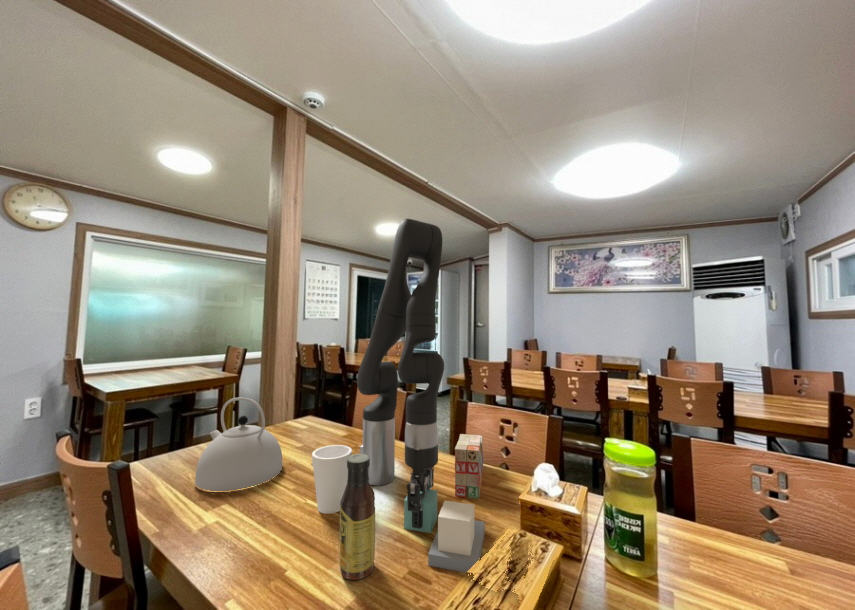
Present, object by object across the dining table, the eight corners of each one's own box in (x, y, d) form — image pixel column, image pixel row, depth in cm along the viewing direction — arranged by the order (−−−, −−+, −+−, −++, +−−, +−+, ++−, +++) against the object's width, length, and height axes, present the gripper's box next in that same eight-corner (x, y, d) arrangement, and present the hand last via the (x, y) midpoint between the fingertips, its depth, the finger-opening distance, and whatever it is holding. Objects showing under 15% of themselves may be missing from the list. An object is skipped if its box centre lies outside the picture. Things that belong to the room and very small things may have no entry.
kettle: (170, 483, 94) (174, 401, 96) (241, 454, 115) (244, 388, 116) (233, 500, 85) (236, 409, 86) (298, 466, 106) (300, 393, 107)
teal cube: (404, 528, 72) (404, 500, 73) (412, 513, 78) (412, 487, 78) (430, 533, 71) (430, 503, 71) (437, 517, 77) (437, 490, 77)
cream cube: (438, 550, 62) (438, 516, 63) (444, 531, 68) (444, 500, 68) (470, 555, 61) (469, 521, 61) (474, 536, 66) (474, 504, 67)
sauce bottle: (342, 559, 63) (343, 450, 64) (375, 557, 63) (376, 449, 65) (335, 585, 56) (337, 464, 58) (373, 583, 57) (374, 462, 58)
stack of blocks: (463, 464, 107) (463, 424, 108) (483, 465, 106) (483, 425, 106) (454, 497, 86) (454, 447, 87) (479, 499, 85) (478, 449, 86)
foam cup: (358, 500, 84) (359, 447, 85) (336, 520, 75) (337, 461, 76) (326, 494, 87) (327, 443, 88) (302, 513, 78) (303, 456, 79)
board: (428, 565, 61) (428, 554, 61) (443, 525, 74) (443, 515, 74) (477, 574, 59) (477, 562, 59) (484, 531, 71) (484, 521, 71)
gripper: (414, 430, 83) (414, 500, 82) (394, 451, 70) (394, 535, 68) (444, 433, 82) (444, 504, 80) (429, 454, 68) (429, 541, 67)
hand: (421, 518), depth 74 cm, fingers closed on teal cube, 6 cm apart
